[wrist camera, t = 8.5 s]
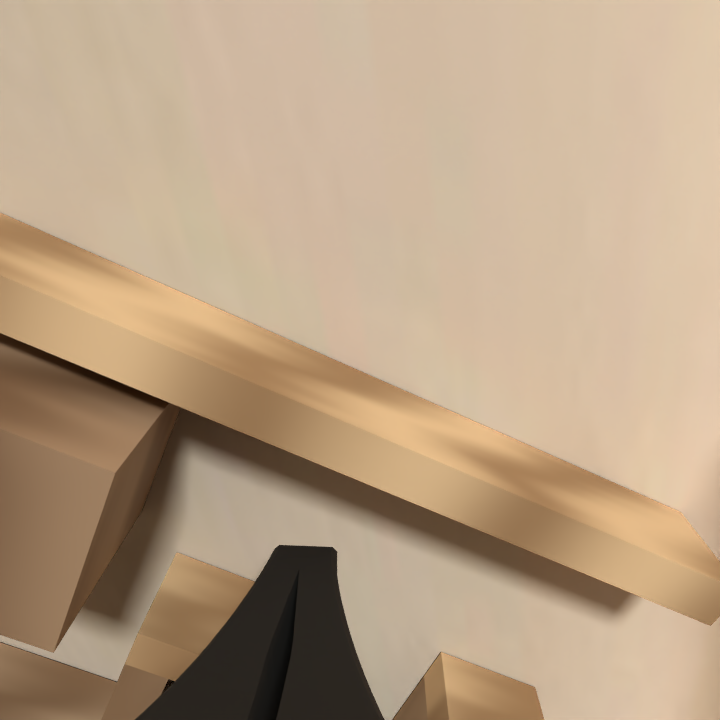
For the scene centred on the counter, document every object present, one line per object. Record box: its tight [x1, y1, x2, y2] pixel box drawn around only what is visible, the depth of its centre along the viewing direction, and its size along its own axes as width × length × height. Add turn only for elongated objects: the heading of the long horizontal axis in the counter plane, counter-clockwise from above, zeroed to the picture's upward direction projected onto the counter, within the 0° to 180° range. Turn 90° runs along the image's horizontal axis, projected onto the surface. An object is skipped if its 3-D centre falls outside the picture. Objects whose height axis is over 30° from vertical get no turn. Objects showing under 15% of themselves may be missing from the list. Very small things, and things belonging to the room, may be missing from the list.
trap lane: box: [0, 213, 720, 720], centre depth 16 cm, size 24×15×3 cm, turn 65°
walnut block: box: [0, 333, 181, 653], centre depth 13 cm, size 5×5×5 cm
